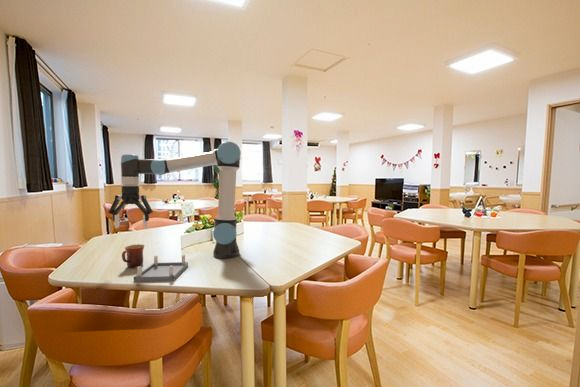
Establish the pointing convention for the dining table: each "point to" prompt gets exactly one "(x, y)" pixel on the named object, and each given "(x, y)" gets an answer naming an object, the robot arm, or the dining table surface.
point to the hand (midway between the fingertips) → (131, 227)
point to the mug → (133, 255)
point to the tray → (161, 271)
